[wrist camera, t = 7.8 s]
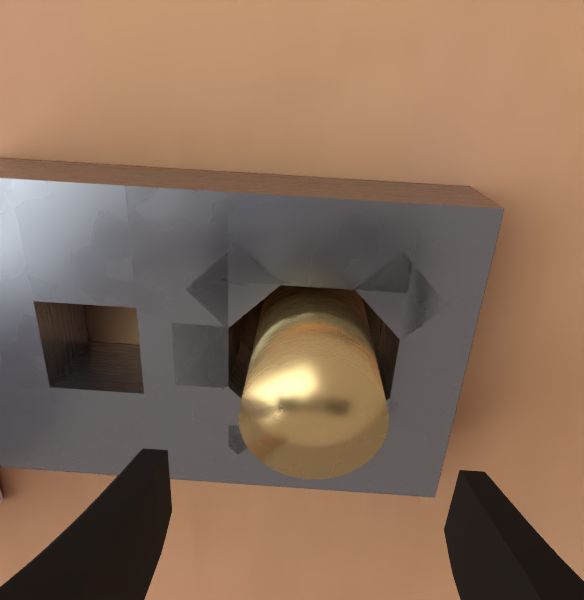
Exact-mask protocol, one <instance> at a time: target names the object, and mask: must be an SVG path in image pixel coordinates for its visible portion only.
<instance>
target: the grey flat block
mask: <svg viewBox="0 0 584 600" xmlns="http://www.w3.org/2000/svg"><path fill="white" fill-rule="evenodd" d="M503 212H504V209H503V208H502V207H500V206H499V205H497V204H496V203H494V202H493V201H491V200H490V199H488V198H487V197H485V196H484V195H482V194H481V193H479V192H478V191H476V190H475V189H473V188H472V187H470V186H454V185H437V184H421V183H404V182H388V181H372V180H355V179H339V178H322V177H306V176H290V175H273V174H257V173H240V172H224V171H208V170H191V169H175V168H158V167H142V166H125V165H109V164H93V163H76V162H60V161H43V160H27V159H11V158H0V464H1V467H7V468H22V469H36V470H50V471H65V472H79V473H93V474H107V475H119V474H120V473H121V472H122V471H123V470H124V468H125V467H126V466H127V465H128V464H129V463H130V462H131V460H132V459H133V458H134V457H135V456H136V455H137V454H138V453H139V451H141V450H142V449H143V448H145V449H159V450H168V461H169V475H170V479H179V480H193V481H207V482H221V483H236V484H250V485H264V486H278V487H293V488H307V489H321V490H335V491H350V492H364V493H378V494H392V495H407V496H421V497H435V495H436V491H437V486H438V482H439V478H440V474H441V470H442V466H443V462H444V457H445V453H446V449H447V445H448V441H449V437H450V432H451V428H452V424H453V420H454V416H455V412H456V407H457V403H458V399H459V395H460V391H461V387H462V383H463V378H464V374H465V370H466V366H467V362H468V358H469V353H470V349H471V345H472V341H473V337H474V333H475V328H476V324H477V320H478V316H479V312H480V308H481V304H482V299H483V295H484V291H485V287H486V283H487V279H488V274H489V270H490V266H491V262H492V258H493V254H494V249H495V245H496V241H497V237H498V233H499V229H500V225H501V220H502V216H503ZM280 285H287V286H302V287H318V288H333V289H349V290H355V291H356V292H357V293H358V294H359V295H360V296H361V297H362V298H363V299H364V301H365V302H366V303H367V304H368V305H369V306H370V307H371V308H372V309H373V310H374V312H375V313H376V314H377V315H378V316H379V317H380V318H381V319H382V327H381V334H380V341H379V348H378V350H377V351H376V352H375V355H376V359H377V364H378V368H379V372H380V377H381V381H382V385H383V390H384V394H385V398H386V403H387V407H388V413H389V427H388V432H387V435H386V438H385V441H384V442H383V444H382V446H381V448H380V449H379V450H378V452H377V453H376V454H375V455H374V456H373V457H372V458H371V459H370V460H369V461H368V462H367V463H365V464H364V465H363V466H361V467H359V468H358V469H356V470H354V471H352V472H350V473H347V474H345V475H342V476H338V477H334V478H328V479H314V480H312V479H301V478H295V477H291V476H288V475H285V474H282V473H280V472H277V471H275V470H273V469H271V468H269V467H268V466H266V465H265V464H264V463H262V462H261V461H260V460H259V459H257V458H256V457H255V456H254V455H253V453H252V452H251V451H250V450H249V448H248V447H247V445H246V444H245V442H244V440H243V438H242V435H241V432H240V428H239V421H238V419H239V408H240V403H241V399H242V395H243V390H244V386H245V381H246V377H247V372H248V368H249V363H250V359H251V355H252V351H251V350H250V349H249V348H248V347H247V346H246V345H245V344H244V343H243V342H242V341H241V321H242V316H244V315H245V314H246V313H247V312H248V311H250V310H251V309H252V308H253V307H255V306H256V305H257V304H258V303H259V302H261V301H262V300H263V299H264V298H265V297H267V296H268V295H269V294H270V293H272V292H273V291H274V290H275V289H276V288H278V287H279V286H280ZM84 304H85V305H100V306H115V307H131V308H136V311H137V322H138V332H139V343H140V345H129V344H114V343H99V342H89V338H88V331H87V324H86V316H85V309H84Z"/></svg>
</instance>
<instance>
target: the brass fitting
mask: <svg viewBox="0 0 584 600" xmlns="http://www.w3.org/2000/svg"><path fill="white" fill-rule="evenodd" d="M238 421H239V428H240V432H241V435H242V438H243V440H244V442H245V444H246V445H247V447H248V448H249V450H250V451H251V452H252V453H253V455H254V456H255V457H256V458H257V459H259V460H260V461H261V462H262V463H264V464H265V465H266V466H268V467H269V468H271V469H273V470H275V471H277V472H280V473H282V474H285V475H288V476H291V477H295V478H301V479H312V480H314V479H328V478H334V477H338V476H342V475H345V474H347V473H350V472H352V471H354V470H356V469H358V468H359V467H361V466H363V465H364V464H365V463H367V462H368V461H369V460H370V459H371V458H372V457H373V456H374V455H375V454H376V453H377V452H378V450H379V449H380V448H381V446H382V444H383V442H384V441H385V438H386V435H387V432H388V427H389V413H388V407H387V403H386V398H385V394H384V390H383V385H382V381H381V377H380V372H379V368H378V364H377V359H376V355H375V351H374V346H373V342H372V338H371V333H370V329H369V325H368V320H367V316H366V312H365V307H364V303H363V300H362V298H361V296H360V295H359V294H358V293H357V292H356V291H355V290H349V289H333V288H318V287H302V286H287V285H280V286H279V287H278V288H276V289H275V290H274V291H273V292H272V293H270V294H269V295H268V296H267V297H265V299H264V302H263V306H262V310H261V315H260V319H259V323H258V328H257V332H256V337H255V341H254V346H253V350H252V355H251V359H250V363H249V368H248V372H247V377H246V381H245V386H244V390H243V395H242V399H241V403H240V408H239V419H238Z"/></svg>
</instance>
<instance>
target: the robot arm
mask: <svg viewBox="0 0 584 600" xmlns="http://www.w3.org/2000/svg"><path fill="white" fill-rule="evenodd" d="M2 500H3V498H2V494H1V490H0V503H1V502H2ZM171 513H172V503H171V489H170V475H169V461H168V450H159V449H145V448H143V449H142V450H141V451H139V453H138V454H137V455H136V456H135V457H134V458H133V459H132V460H131V462H130V463H129V464H128V465H127V466H126V467H125V468H124V470H123V471H122V472H121V473H120V474H119V475H118V476H117V477H116V478H115V479H114V481H113V482H112V483H111V484H110V485H109V486H108V487H107V488H106V489H105V490H104V491H103V492H102V494H101V495H100V496H99V497H98V498H97V499H96V500H95V501H94V502H93V503H92V504H91V505H90V506H89V507H88V508H87V509H86V510H85V511H84V512H83V513H82V514H81V515H80V516H79V517H78V518H77V519H76V520H75V521H74V522H73V523H72V524H71V525H70V526H69V527H68V528H67V529H66V530H65V531H64V532H62V533H61V534H60V535H59V536H58V537H57V538H56V539H55V540H54V541H53V542H52V543H51V544H50V545H49V546H48V547H47V548H45V549H44V550H43V551H42V552H41V553H40V554H39V555H38V556H36V557H35V558H34V559H33V560H32V561H31V562H30V563H28V564H27V565H26V566H25V567H24V568H23V569H21V570H20V571H19V572H18V573H17V574H15V575H14V576H13V577H12V578H11V579H9V580H8V581H7V582H6V583H5V584H3V585H2V586H1V587H0V600H144V599H145V596H146V594H147V591H148V588H149V585H150V583H151V580H152V577H153V575H154V572H155V569H156V566H157V564H158V561H159V558H160V555H161V552H162V549H163V545H164V541H165V537H166V533H167V529H168V525H169V521H170V517H171ZM444 532H445V537H446V543H447V548H448V554H449V558H450V563H451V568H452V573H453V576H454V580H455V583H456V586H457V590H458V593H459V596H460V599H461V600H584V581H583V580H582V579H581V578H580V577H579V576H578V575H577V574H576V573H575V572H574V571H573V570H572V569H571V568H570V567H569V566H568V565H567V564H566V563H565V562H564V561H563V560H562V559H561V558H560V557H559V556H558V555H557V553H556V552H555V551H554V550H553V549H552V548H551V547H550V546H549V545H548V544H547V543H546V541H545V540H544V539H543V538H542V537H541V536H540V535H539V534H538V533H537V532H536V531H535V529H534V528H533V527H532V526H531V525H530V524H529V523H528V521H527V520H526V519H525V518H524V517H523V516H522V515H521V513H520V512H519V511H518V510H517V509H516V508H515V506H514V505H513V504H512V503H511V502H510V501H509V499H508V498H507V497H506V496H505V495H504V494H503V493H502V491H501V490H500V489H499V488H498V487H497V485H496V484H495V483H494V482H493V481H492V480H491V479H490V477H489V476H488V475H487V474H486V473H485V472H480V471H466V470H460V471H459V474H458V478H457V482H456V486H455V490H454V494H453V497H452V501H451V505H450V509H449V513H448V517H447V520H446V524H445V528H444Z"/></svg>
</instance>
